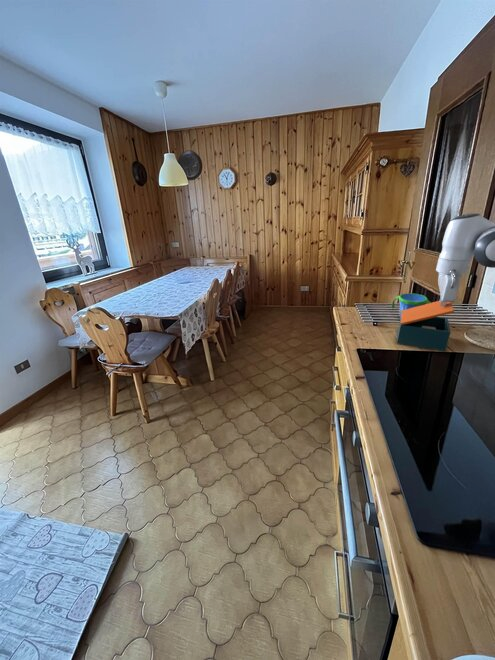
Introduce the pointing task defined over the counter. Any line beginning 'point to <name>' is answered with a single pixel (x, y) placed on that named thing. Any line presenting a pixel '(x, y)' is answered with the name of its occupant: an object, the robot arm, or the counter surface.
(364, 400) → the counter surface
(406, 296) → the snack cup
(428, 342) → the dark teal open box
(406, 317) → the lid
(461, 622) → the counter surface
